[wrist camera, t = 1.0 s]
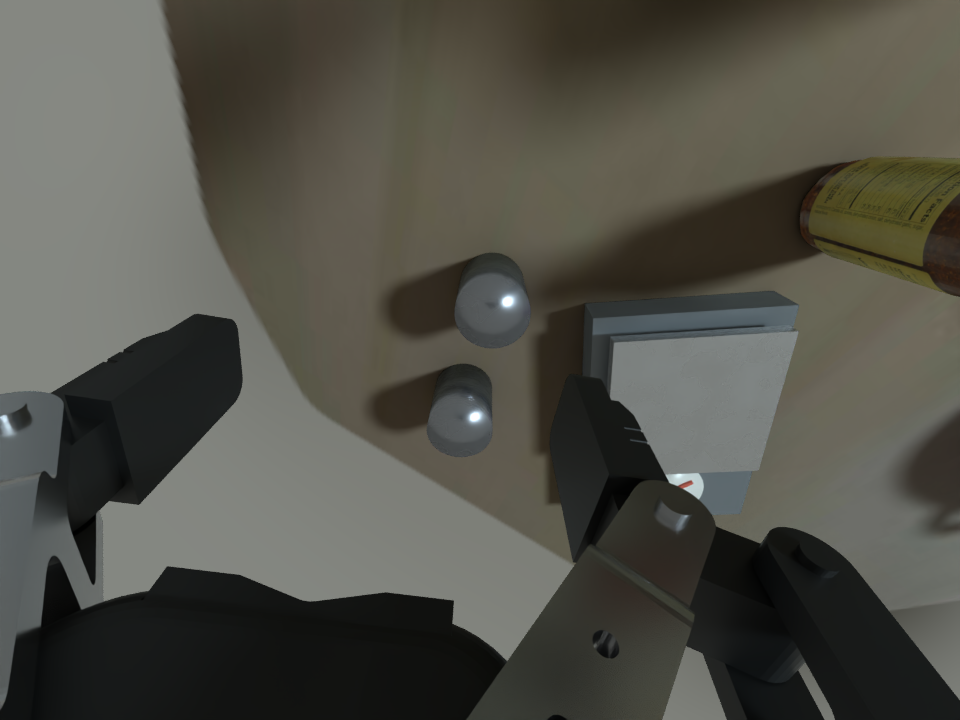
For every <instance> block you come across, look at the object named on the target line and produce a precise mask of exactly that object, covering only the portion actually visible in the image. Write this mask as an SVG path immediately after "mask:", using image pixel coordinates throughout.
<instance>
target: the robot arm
mask: <svg viewBox="0 0 960 720" xmlns="http://www.w3.org/2000/svg"><path fill="white" fill-rule="evenodd" d="M241 387H242V367H241V357H240V348H239V337H238V328H237V325H236V323H235V322H234V321H233V320H232V319H227V318H221V317H215V316H208V315H202V314H194V315H192V316H191V317H189V318H187V319H186V320H184V321H183V322H181V323H179V324H178V325H176V326H174V327H173V328H171V329H170V330H168V331H165V332H162V333H158V334H155V335H152V336H149V337H146V338H143V339H141V340H139V341H138V342H136V343H134V344H132V345H131V346H129V347H127V348H126V349H124V351H123V352H119V353H118V354H116V355H114V356H112V357H111V358H109V359H108V361H107V362H102V363H101V364H99V365H97V366H96V367H94V368H92V369H90V370H89V371H87V372H85V373H84V374H82V375H80V376H79V377H77V378H75V379H74V380H72V381H70V382H68V383H67V384H65V385H63V386H62V387H60V388H58V389H57V390H55V391H53V392H52V393H45V392H36V391H24V392H13V393H5V394H0V720H662V718H663V715H664V712H665V709H666V706H667V703H668V700H669V696H670V694H671V690H672V687H673V684H674V681H675V678H676V675H677V672H678V669H679V666H680V663H681V659H682V657H683V653H684V650H685V647H686V646H687V647H690V648H692V649H694V650H696V651H699V652H701V653H703V655H704V658H705V661H706V664H707V666H708V669H709V672H710V675H711V677H712V680H713V683H714V685H715V688H716V691H717V694H718V697H719V699H720V702H721V705H722V707H723V710H724V713H725V716H726V718H727V720H824V718H823V716H822V714H821V712H820V710H819V709H818V707H817V705H816V703H815V701H814V699H813V697H812V696H811V694H810V692H809V690H808V688H807V686H806V684H805V683H804V680H803V679H802V677H801V675H800V673H799V671H798V670H799V668H800V667H801V666H802V665H803V664H804V663H805V662H806V664H807V666H808V667H809V669H810V671H811V673H812V675H813V676H814V678H815V680H816V682H817V683H818V685H819V687H820V689H821V691H822V693H823V694H824V696H825V698H826V700H827V702H828V703H829V705H830V707H831V709H832V712H833V714H834V718H835V720H960V700H959V699H958V697H957V696H956V695H955V694H954V692H952V690H951V689H950V688H949V686H948V685H947V684H946V682H945V681H944V680H943V679H942V677H941V676H940V675H939V674H938V672H937V671H936V670H935V669H934V667H933V666H932V665H931V664H930V662H929V661H928V660H927V658H926V657H925V656H924V655H923V653H922V652H921V651H920V650H919V648H918V647H917V646H916V645H915V643H914V642H913V641H912V640H911V638H910V637H909V636H908V634H907V633H906V632H905V631H904V629H903V628H902V627H901V626H900V625H899V623H898V622H897V621H896V619H895V618H894V617H893V616H892V615H891V613H890V612H889V611H888V609H887V608H886V607H885V605H884V604H883V603H882V602H881V600H880V599H879V598H878V597H877V595H876V594H875V593H874V592H873V590H872V589H871V588H870V587H869V585H868V584H867V583H866V582H865V580H864V579H863V578H862V577H861V575H860V574H859V573H858V571H857V570H856V569H855V568H854V567H853V566H852V564H851V563H850V562H849V561H848V560H847V559H846V558H844V557H843V556H842V555H841V554H840V553H839V552H837V551H836V550H835V549H833V548H832V547H831V546H829V545H828V544H826V543H825V542H823V541H821V540H820V539H818V538H816V537H814V536H812V535H810V534H808V533H805V532H803V531H800V530H797V529H793V528H788V527H777V528H773V529H772V530H770V531H769V533H768V534H767V536H766V537H765V539H764V540H763V541H762V543H761V544H760V543H757V542H755V541H752V540H749V539H747V538H744V537H741V536H739V535H736V534H734V533H731V532H728V531H726V530H723V529H721V528H718V527H716V525H715V521H714V518H713V516H712V515H711V513H710V511H709V510H708V509H707V507H706V506H705V505H704V504H703V503H702V502H701V501H700V500H699V499H697V498H696V497H695V496H694V495H692V494H691V493H689V492H688V491H686V490H684V489H682V488H680V487H678V486H676V485H674V484H671V483H669V481H668V479H667V477H666V475H665V473H664V471H663V469H662V468H661V466H660V464H659V462H658V460H657V458H656V456H655V454H654V452H653V450H652V449H651V447H650V445H649V444H647V442H648V441H647V439H646V437H645V435H644V433H643V432H641V428H640V426H639V424H638V422H637V420H636V418H635V416H634V415H633V414H632V413H631V412H630V411H629V410H628V409H627V408H626V407H625V406H624V405H623V404H621V403H620V402H619V401H614V400H611V398H610V396H609V394H608V392H607V390H606V388H605V385H604V383H603V381H602V380H601V379H600V378H594V377H588V376H582V375H575V374H570V375H569V376H568V377H567V379H566V382H565V385H564V388H563V391H562V394H561V398H560V401H559V404H558V407H557V411H556V414H555V417H554V420H553V424H552V428H551V433H550V451H551V456H552V461H553V466H554V471H555V476H556V481H557V486H558V491H559V496H560V500H561V505H562V510H563V515H564V520H565V525H566V530H567V535H568V540H569V545H570V550H571V555H572V559H573V562H576V564H575V565H574V567H573V568H572V570H571V571H570V573H569V574H568V575H567V577H566V578H565V580H564V581H563V582H562V584H561V585H560V587H559V588H558V590H557V591H556V593H555V594H554V595H553V597H552V598H551V600H550V601H549V603H548V604H547V605H546V607H545V608H544V610H543V611H542V612H541V614H540V615H539V617H538V618H537V620H536V621H535V623H534V624H533V625H532V627H531V628H530V630H529V631H528V632H527V634H526V635H525V637H524V638H523V640H522V641H521V642H520V644H519V646H518V647H517V648H516V650H515V651H514V653H513V654H512V655H511V657H510V658H509V660H508V661H506V660H505V659H504V658H503V657H502V656H501V655H500V654H499V653H498V652H497V651H496V650H495V649H494V648H492V647H491V646H490V645H488V644H487V643H486V642H484V641H483V640H481V639H480V638H479V637H477V636H476V635H474V634H472V633H470V632H468V631H467V630H465V629H463V628H460V627H458V626H456V625H454V624H452V620H453V605H454V601H452V600H444V599H436V598H428V597H419V596H411V595H402V594H394V593H378V594H371V595H362V596H354V597H346V598H339V599H331V600H322V601H313V602H308V601H302V600H299V599H297V598H294V597H292V596H289V595H287V594H285V593H282V592H280V591H277V590H275V589H273V588H270V587H268V586H265V585H263V584H260V583H258V582H255V581H253V580H251V579H248V578H246V577H243V576H241V575H235V574H227V573H219V572H210V571H202V570H193V569H185V568H176V567H166V569H165V570H164V571H163V573H162V574H161V575H160V577H159V578H158V580H157V581H156V582H155V584H154V585H153V586H152V588H151V589H150V590H149V591H146V592H140V593H135V594H130V595H126V596H121V597H118V598H114V599H111V600H108V601H103V521H102V517H101V514H100V511H99V510H100V509H101V508H102V507H103V506H104V505H105V504H106V503H107V502H108V501H114V502H121V503H129V504H137V505H139V504H140V503H141V502H142V501H143V500H144V499H145V498H146V497H147V495H149V494H150V493H151V491H152V490H153V489H154V488H155V487H156V486H157V485H158V484H159V483H160V482H161V481H162V480H163V479H164V478H165V477H166V476H167V474H168V473H169V472H170V471H171V470H172V469H173V468H174V467H175V466H176V465H177V464H178V463H179V462H180V461H181V459H182V458H183V457H184V456H185V455H186V454H187V453H188V452H189V451H190V450H191V449H192V448H193V447H194V446H195V445H196V444H197V442H198V441H199V440H200V439H201V438H202V437H203V436H204V435H205V434H206V433H207V432H208V431H209V430H210V429H211V427H212V426H213V425H214V424H215V423H216V422H217V421H218V420H219V419H220V418H221V417H222V416H223V415H224V414H225V412H227V410H228V409H229V408H230V407H231V406H232V405H233V404H234V403H235V402H236V400H237V398H238V396H239V394H240V391H241Z"/></svg>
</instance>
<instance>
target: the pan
mask: <svg viewBox="0 0 960 720" xmlns="http://www.w3.org/2000/svg"><path fill="white" fill-rule="evenodd" d="M798 332H799V331H798V330H796V329H795V328H793V327H792V326H790V325H784V326H768V327H752V328H736V329H720V330H705V331H689V332H673V333H657V334H641V335H625V336H610V348H609V363H608V378H607V392H608V394H609V396H610V398H611V400H614V401H619V402H620V403H621V404H623V405H624V406H625V407H626V408H627V409H628V410H629V411H630V412H631V413H632V414H633V415H634V416H635V418H636V420H637V422H638V424H639V426H640V428H641V432H643V433H644V435H645V437H646V439H647V441H648V442H647V444H649V445H650V447H651V449H652V450H653V452H654V454H655V456H656V458H657V460H658V462H659V464H660V466H661V468H662V469H663V471H664V473H665V475H668V474H690V473H712V472H734V471H756V470H759V467H760V463H761V460H762V456H763V453H764V449H765V446H766V443H767V439H768V436H769V432H770V429H771V425H772V422H773V418H774V415H775V412H776V408H777V405H778V401H779V398H780V394H781V391H782V387H783V384H784V381H785V377H786V374H787V370H788V367H789V363H790V360H791V356H792V353H793V350H794V346H795V343H796V339H797V336H798Z"/></svg>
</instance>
